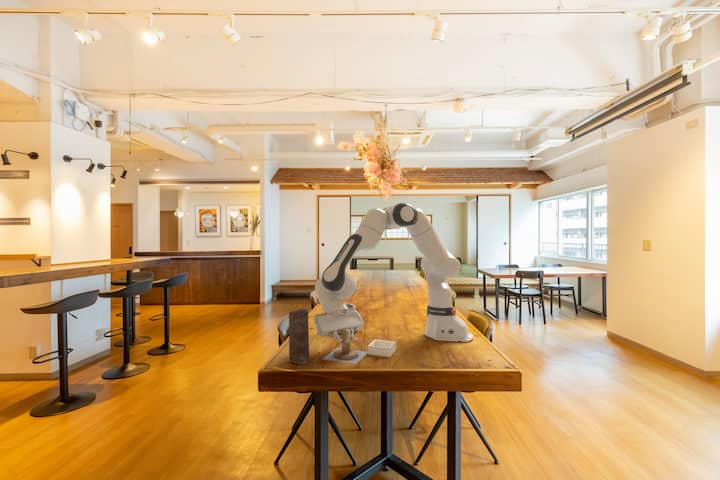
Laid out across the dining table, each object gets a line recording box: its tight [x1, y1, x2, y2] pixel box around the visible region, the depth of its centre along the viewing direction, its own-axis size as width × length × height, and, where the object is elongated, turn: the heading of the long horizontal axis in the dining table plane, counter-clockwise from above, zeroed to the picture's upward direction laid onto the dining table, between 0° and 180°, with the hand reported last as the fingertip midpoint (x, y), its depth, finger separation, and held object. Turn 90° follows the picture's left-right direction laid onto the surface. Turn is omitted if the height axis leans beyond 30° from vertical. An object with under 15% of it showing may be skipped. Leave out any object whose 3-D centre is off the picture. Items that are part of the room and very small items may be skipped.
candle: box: [288, 308, 310, 365], centre depth 129 cm, size 8×7×20 cm
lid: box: [333, 329, 359, 360], centre depth 135 cm, size 10×10×10 cm
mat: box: [322, 347, 368, 365], centre depth 135 cm, size 14×14×1 cm
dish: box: [367, 338, 397, 358], centre depth 139 cm, size 9×9×4 cm
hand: (346, 341), depth 135 cm, fingers open, 4 cm apart
